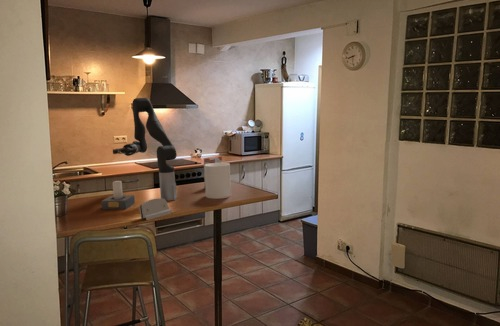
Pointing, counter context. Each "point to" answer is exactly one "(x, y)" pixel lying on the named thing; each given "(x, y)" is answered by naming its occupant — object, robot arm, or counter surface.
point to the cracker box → (212, 161)
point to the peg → (117, 190)
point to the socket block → (118, 202)
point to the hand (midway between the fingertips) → (120, 152)
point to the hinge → (154, 209)
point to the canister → (217, 180)
